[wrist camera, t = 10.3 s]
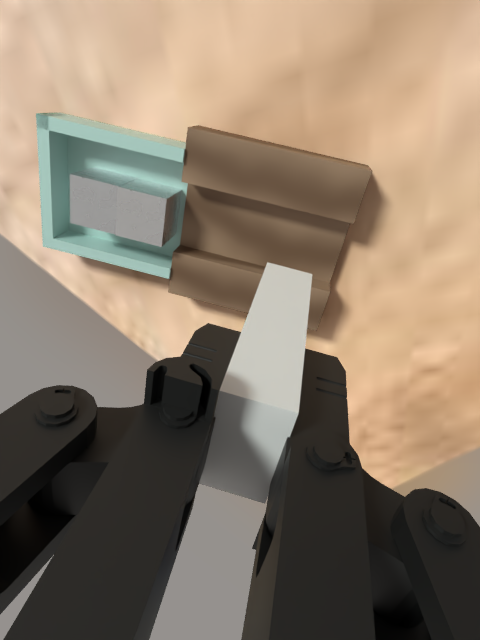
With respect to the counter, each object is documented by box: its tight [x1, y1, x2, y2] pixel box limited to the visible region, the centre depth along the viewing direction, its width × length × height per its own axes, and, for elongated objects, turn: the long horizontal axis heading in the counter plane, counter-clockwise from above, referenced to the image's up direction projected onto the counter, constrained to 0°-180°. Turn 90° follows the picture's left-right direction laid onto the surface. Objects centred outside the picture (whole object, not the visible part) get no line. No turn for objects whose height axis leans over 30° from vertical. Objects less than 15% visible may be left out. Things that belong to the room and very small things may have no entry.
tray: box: [36, 113, 188, 279], centre depth 35 cm, size 11×12×3 cm
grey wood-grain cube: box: [116, 179, 182, 247], centre depth 34 cm, size 4×4×4 cm
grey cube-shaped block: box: [70, 167, 138, 235], centre depth 34 cm, size 4×4×4 cm
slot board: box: [168, 125, 372, 331], centre depth 34 cm, size 14×14×3 cm
